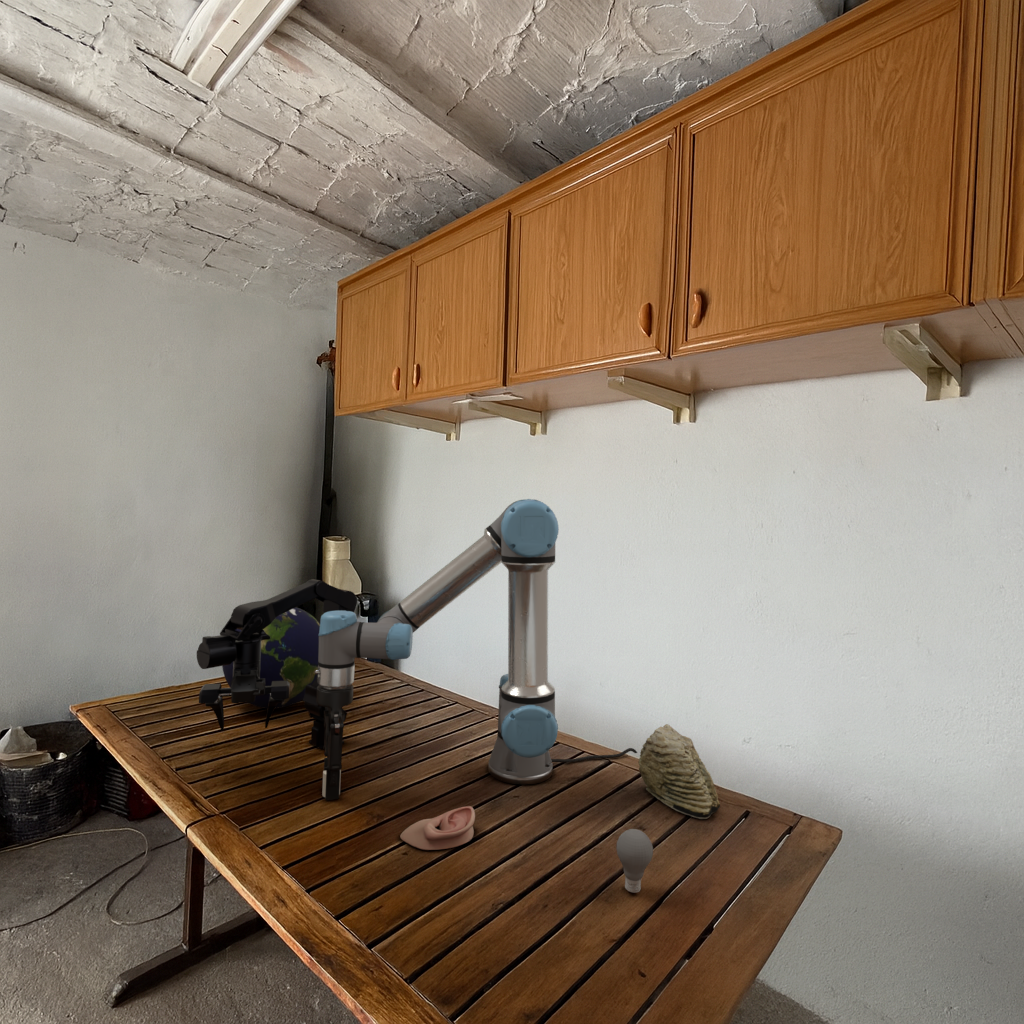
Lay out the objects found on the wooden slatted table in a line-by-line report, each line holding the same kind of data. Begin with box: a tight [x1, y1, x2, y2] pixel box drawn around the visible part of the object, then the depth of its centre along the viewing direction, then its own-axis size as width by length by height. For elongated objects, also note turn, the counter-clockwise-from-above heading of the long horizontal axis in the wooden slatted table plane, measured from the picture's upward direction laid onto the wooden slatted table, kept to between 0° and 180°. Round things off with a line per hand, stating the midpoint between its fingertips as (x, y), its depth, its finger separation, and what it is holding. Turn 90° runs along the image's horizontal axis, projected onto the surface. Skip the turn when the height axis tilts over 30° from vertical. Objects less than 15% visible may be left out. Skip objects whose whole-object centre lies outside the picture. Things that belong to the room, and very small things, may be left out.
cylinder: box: [321, 769, 342, 798], centre depth 135 cm, size 4×4×5 cm
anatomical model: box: [399, 805, 476, 851], centre depth 120 cm, size 13×4×12 cm
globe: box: [221, 607, 320, 709], centre depth 188 cm, size 30×30×30 cm
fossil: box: [637, 723, 721, 820], centre depth 139 cm, size 9×18×15 cm, turn 46°
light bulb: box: [615, 828, 654, 894], centre depth 106 cm, size 6×6×10 cm
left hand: (244, 729), depth 144 cm, fingers open, 9 cm apart
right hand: (330, 792), depth 135 cm, fingers open, 5 cm apart
